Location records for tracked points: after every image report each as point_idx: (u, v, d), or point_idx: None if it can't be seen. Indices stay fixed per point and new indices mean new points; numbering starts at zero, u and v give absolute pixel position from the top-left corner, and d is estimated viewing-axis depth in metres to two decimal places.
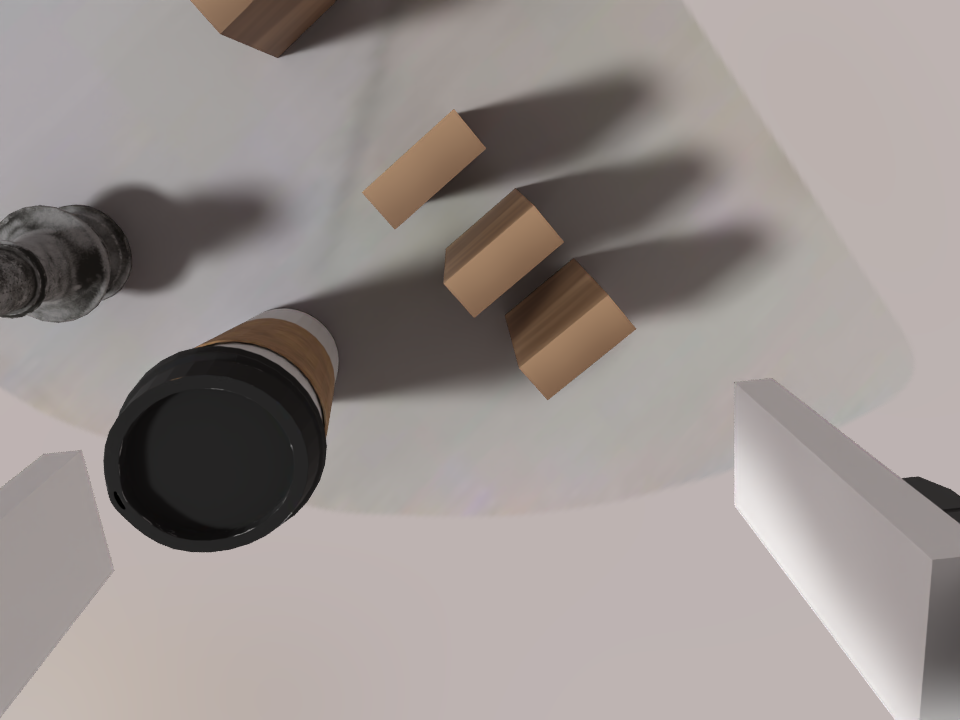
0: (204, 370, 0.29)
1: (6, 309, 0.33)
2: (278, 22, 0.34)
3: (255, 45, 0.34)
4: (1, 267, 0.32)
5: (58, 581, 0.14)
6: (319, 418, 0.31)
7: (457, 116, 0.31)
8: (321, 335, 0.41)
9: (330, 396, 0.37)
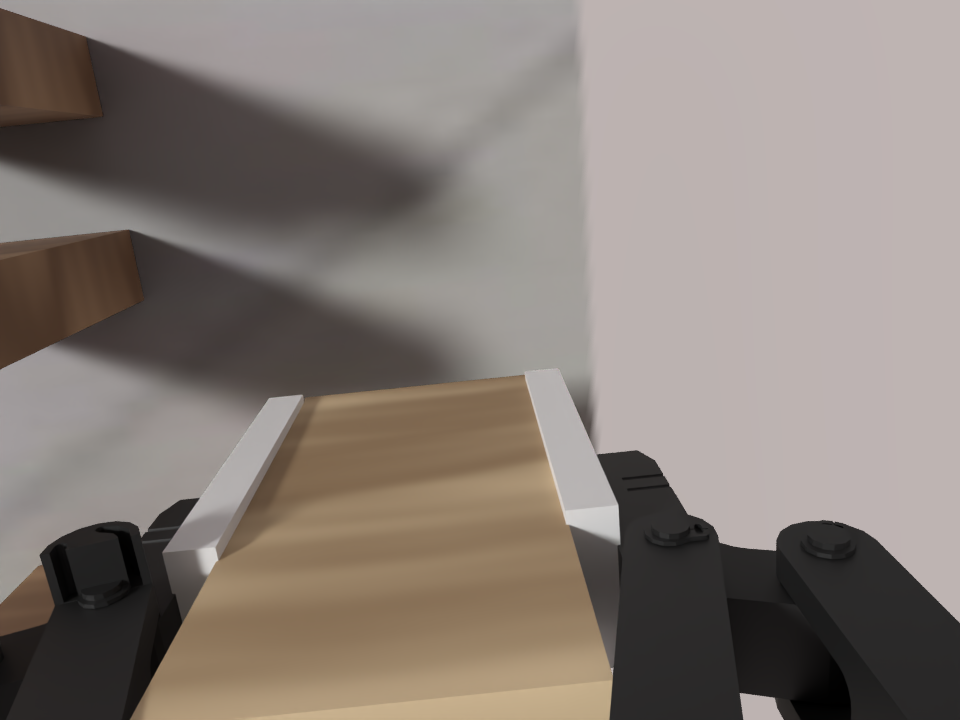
0: None
1: None
2: None
3: None
4: None
5: None
6: None
7: None
8: None
9: None
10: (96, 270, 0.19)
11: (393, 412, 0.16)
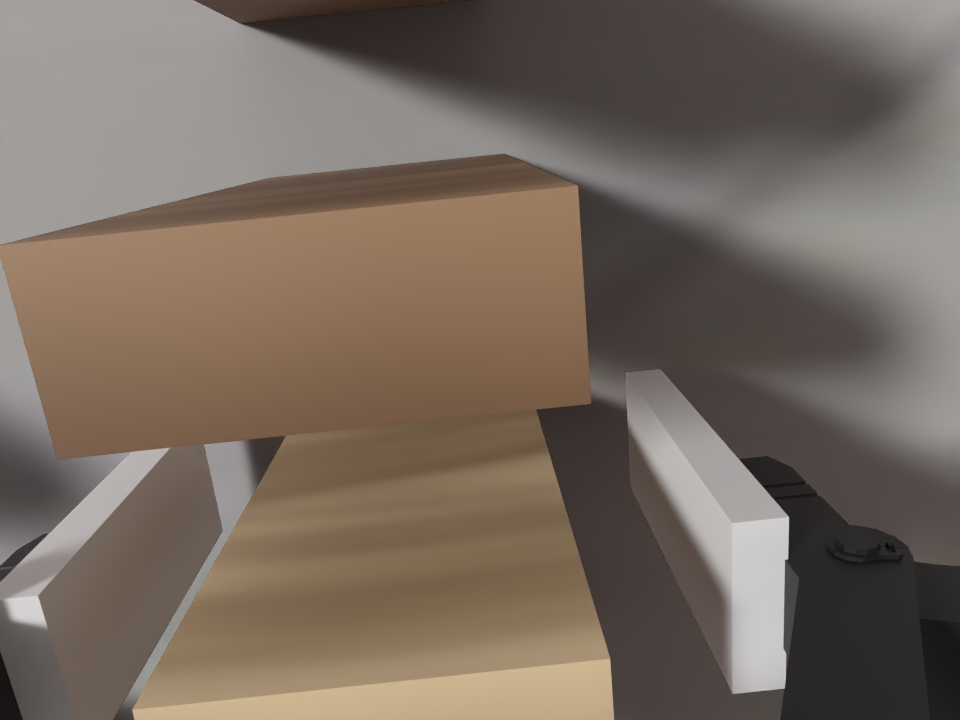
0: None
1: None
2: None
3: None
4: None
5: (185, 534, 0.15)
6: None
7: None
8: None
9: None
10: None
11: None
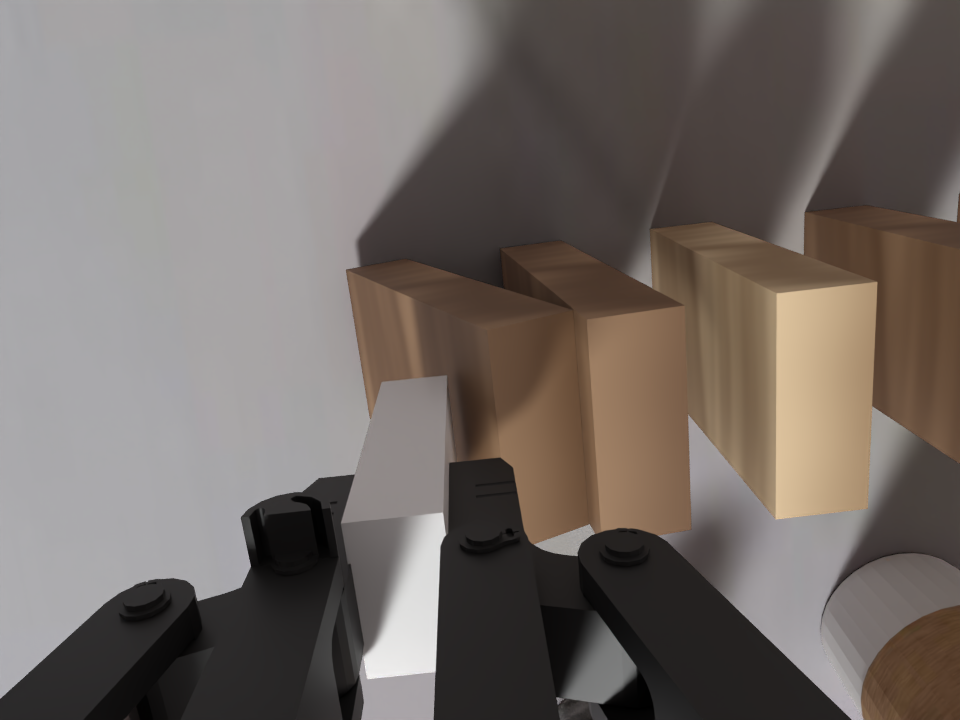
0: None
1: None
2: None
3: None
4: None
5: None
6: None
7: None
8: (940, 582, 0.26)
9: None
10: (540, 256, 0.22)
11: None
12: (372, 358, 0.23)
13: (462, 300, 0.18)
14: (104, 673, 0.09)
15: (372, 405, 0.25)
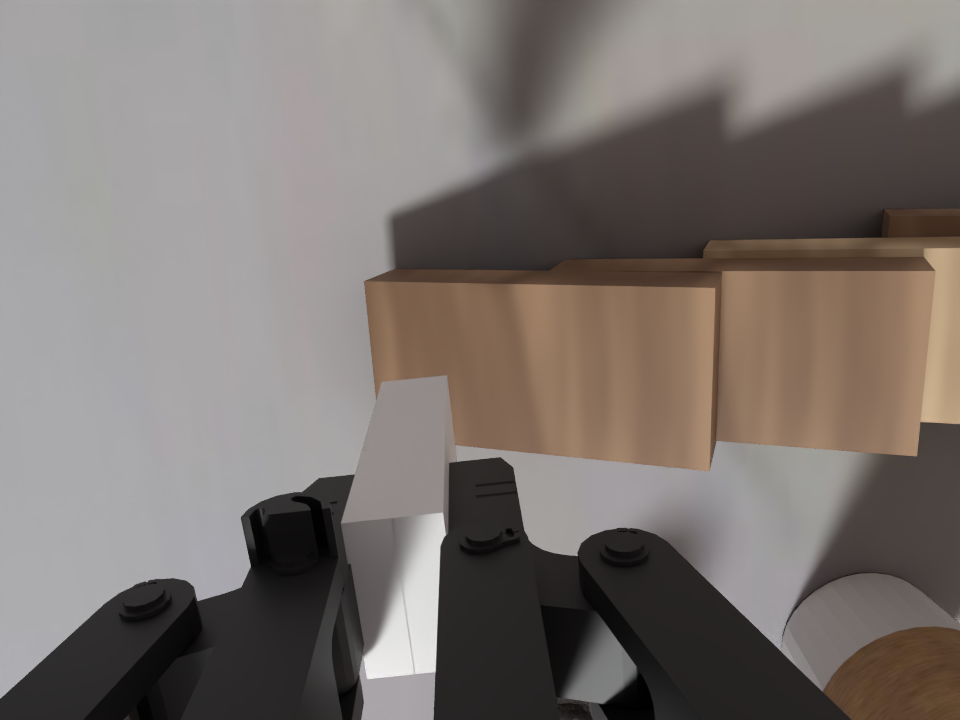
0: None
1: None
2: None
3: None
4: None
5: None
6: None
7: None
8: (898, 604, 0.26)
9: None
10: (636, 266, 0.22)
11: None
12: (415, 366, 0.23)
13: (607, 280, 0.21)
14: (104, 673, 0.09)
15: None
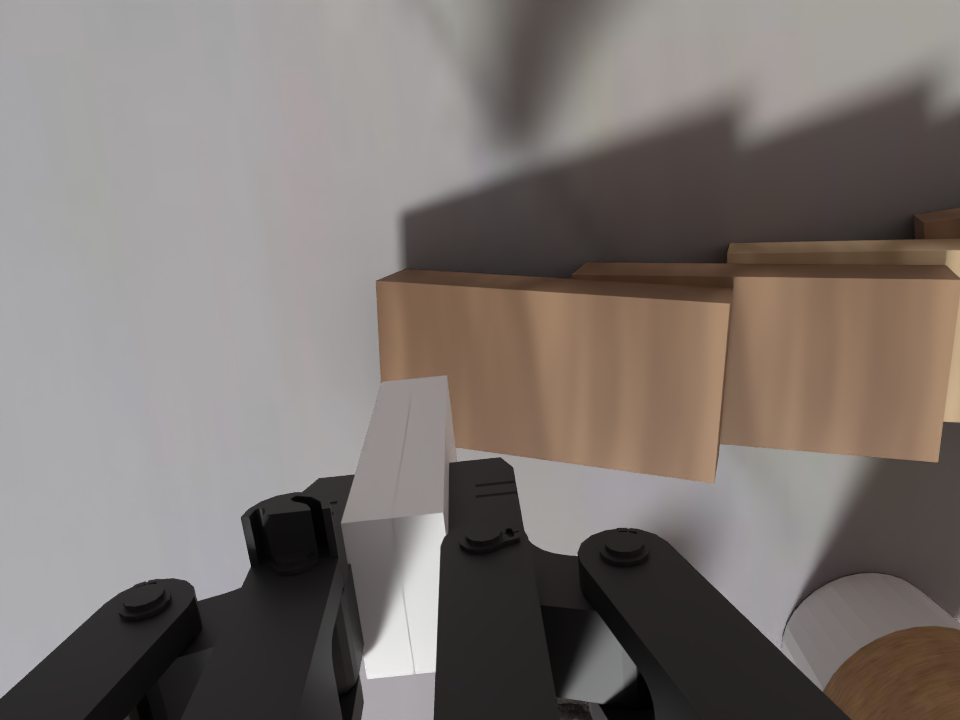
0: None
1: None
2: None
3: None
4: None
5: None
6: None
7: None
8: (898, 603, 0.26)
9: None
10: (659, 270, 0.22)
11: None
12: (423, 368, 0.23)
13: (621, 290, 0.21)
14: (104, 673, 0.09)
15: None
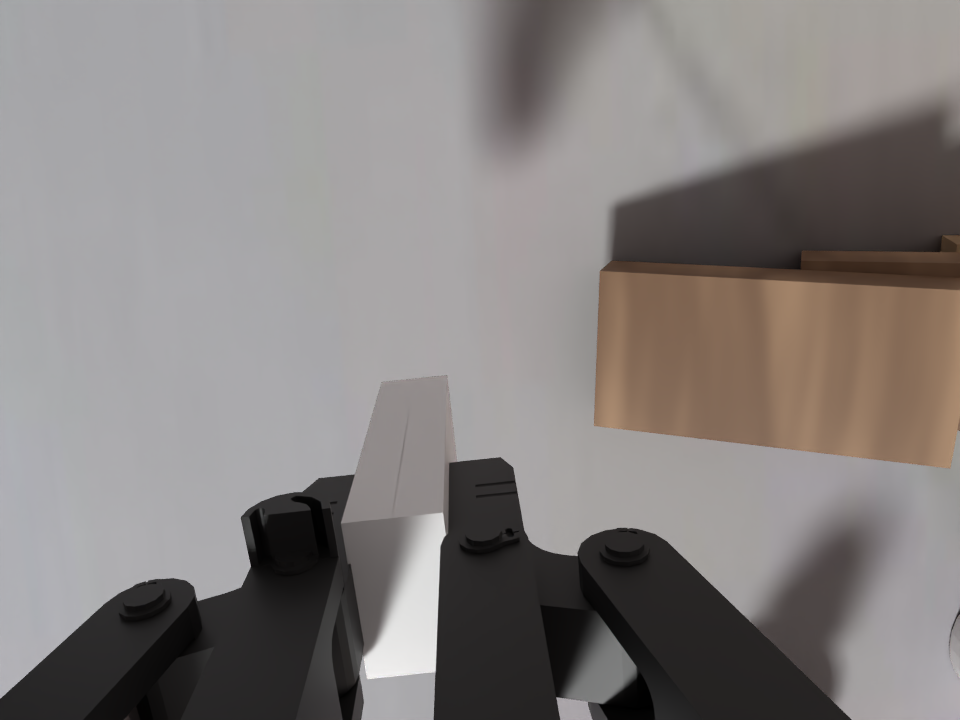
0: None
1: None
2: None
3: None
4: None
5: None
6: None
7: None
8: None
9: None
10: (890, 257, 0.23)
11: None
12: (644, 357, 0.23)
13: (857, 280, 0.21)
14: (104, 673, 0.09)
15: (612, 409, 0.24)
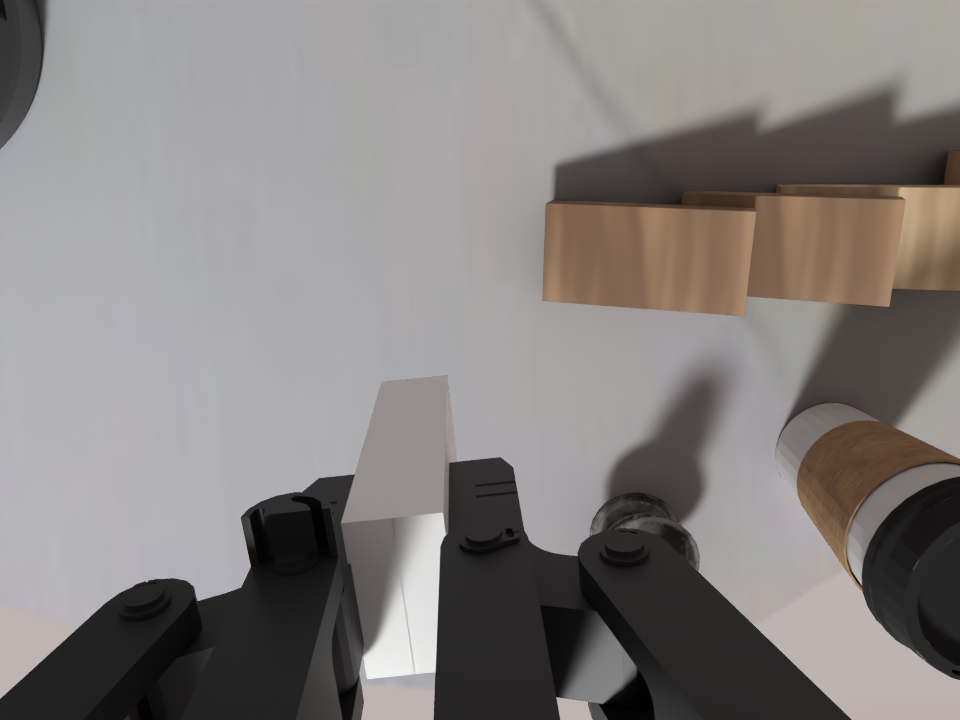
0: (923, 539, 0.31)
1: None
2: None
3: None
4: None
5: None
6: None
7: None
8: (847, 413, 0.42)
9: None
10: (734, 193, 0.38)
11: None
12: (572, 256, 0.39)
13: (693, 207, 0.37)
14: (104, 673, 0.09)
15: (553, 289, 0.40)
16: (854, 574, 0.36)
